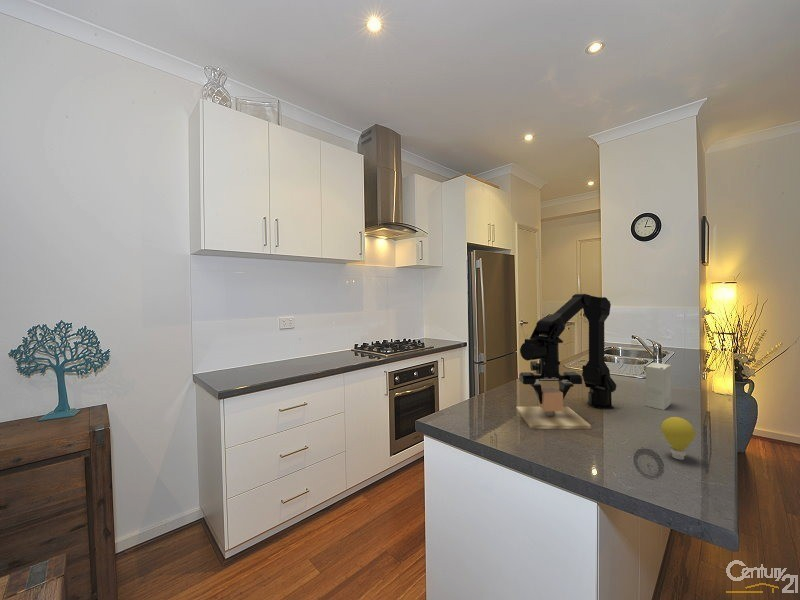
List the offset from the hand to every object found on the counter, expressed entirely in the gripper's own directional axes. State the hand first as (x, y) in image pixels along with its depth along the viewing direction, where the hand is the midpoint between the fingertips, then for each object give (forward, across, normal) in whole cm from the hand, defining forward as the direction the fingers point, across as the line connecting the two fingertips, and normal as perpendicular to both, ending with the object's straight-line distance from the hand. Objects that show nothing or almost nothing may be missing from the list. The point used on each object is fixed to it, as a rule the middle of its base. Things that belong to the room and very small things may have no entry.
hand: (550, 403), depth 116 cm
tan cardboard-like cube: (+2, 0, 0) cm, 2 cm away
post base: (+5, 0, 0) cm, 5 cm away
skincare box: (+5, -42, -13) cm, 44 cm away
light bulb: (+5, -22, +27) cm, 35 cm away
